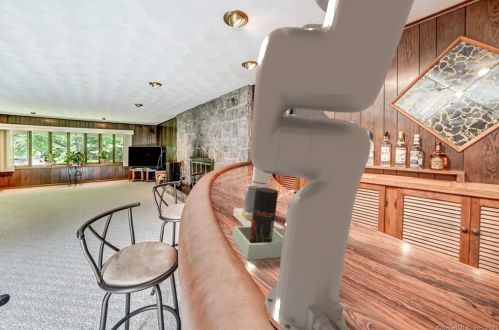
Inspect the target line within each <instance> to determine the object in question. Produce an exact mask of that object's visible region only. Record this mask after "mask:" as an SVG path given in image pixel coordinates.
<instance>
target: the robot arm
mask: <svg viewBox="0 0 499 330" xmlns="http://www.w3.org/2000/svg"><path fill="white" fill-rule="evenodd" d="M414 1H415V0H315V3H316V5H318V7H319V8H320V9H321V10H322V11H323V12H324V13H325V17H324V21H323V24H322V23H320V24H319V23H306V24H303V26H301V27H300V26H299V27H298V26H297V27H296V26H288V27H287V26H285V27H279V28H275V29H273V30H272V31H271V32H270V33H268V34H267V35H266V36H265V38H264V40H263V42H262V45H261V48H260V51H259V54H258V59H257V63H256V64H257V65H256V72H255V81H254V93H253V95H254V96H253V107H252V119H251V120H252V121H251V131H250V132H251V133H250V160H251V163H252V166H253V168H254V167H255V168H256V169H257V170H259V171H262V172H265V173H270V175H271V174H272V175H278V176H285V177H293V178H299V179H300V178H301V179H305V180H308V181H307V182H306V183H305V184H304V185H303V186H302V187H300V189H298V190H297V191H296V193H294V195H293V196H292V197H291V199H290V201H289V203H288V205H287V210H286V211H287V212H286V217H285V224H284V226H285V227H284V228H285V231H284V238H283V245H282V253H281V257H280V260H279V261H280V262H279V267H278V276H277V283H276V286H273V288H271V289H270V290H268V292H267V294H266V296H265V300H264V305H265V304H266V307H267V309H268V311H269V313H270V314H271V317H272V318H273V319H274V320H275V321H276V322H277V323H278V325H279V326H280V328H282V329H283V330H351V329H350V328H349V327H348V326H347V324H346V318H345V316H344V313H343V311H344V306H343V305H342V304H341V303H340V302H339V297H340V290H341V284H342V278H343V272H344V267H345V260H346V252H347V247H348V242H349V241H348V240H349V234H350V228H351V223H352V219H353V211H354V208H355V201H356V198H357V195H358V194H357V193H358V190H359V186H360V183H361V180H362V177H363V174H364V172H365V170H366V169H365V168H366V166H367V163H368V161H369V157H370V153H371V145H372V144H371V138H370V136H369V134H368V132H367V130H365V128H363V127H362V126H360V125H359V124H357V123H354V122H352V121H349V120H346V119H345V120H344V119H339V118H331V117H329V116H328V115H327V114H326V113H325V112H332V113H347V114H348V113H349V114H353V113H360V112H363V111H365V110H368V109H369V108H370V107H371V106H372V105H373V104H374V103H375V101H376V100H377V98H378V97H379V95H380V92H381V91H382V88H383V85H384V84H385V81H386V79H387V76H388V73H389V70H390V67H391V65H392V62H393V60H394V58H395V57H394V56H395V54H396V52H397V49H398V46H399V44H400V41H401V38H402V35H403V32H404V30H405V27H406V24H407V22H408V19H409V17H410V13H411V10H412V7H413V4H414ZM287 111H288V113H287Z"/></svg>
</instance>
